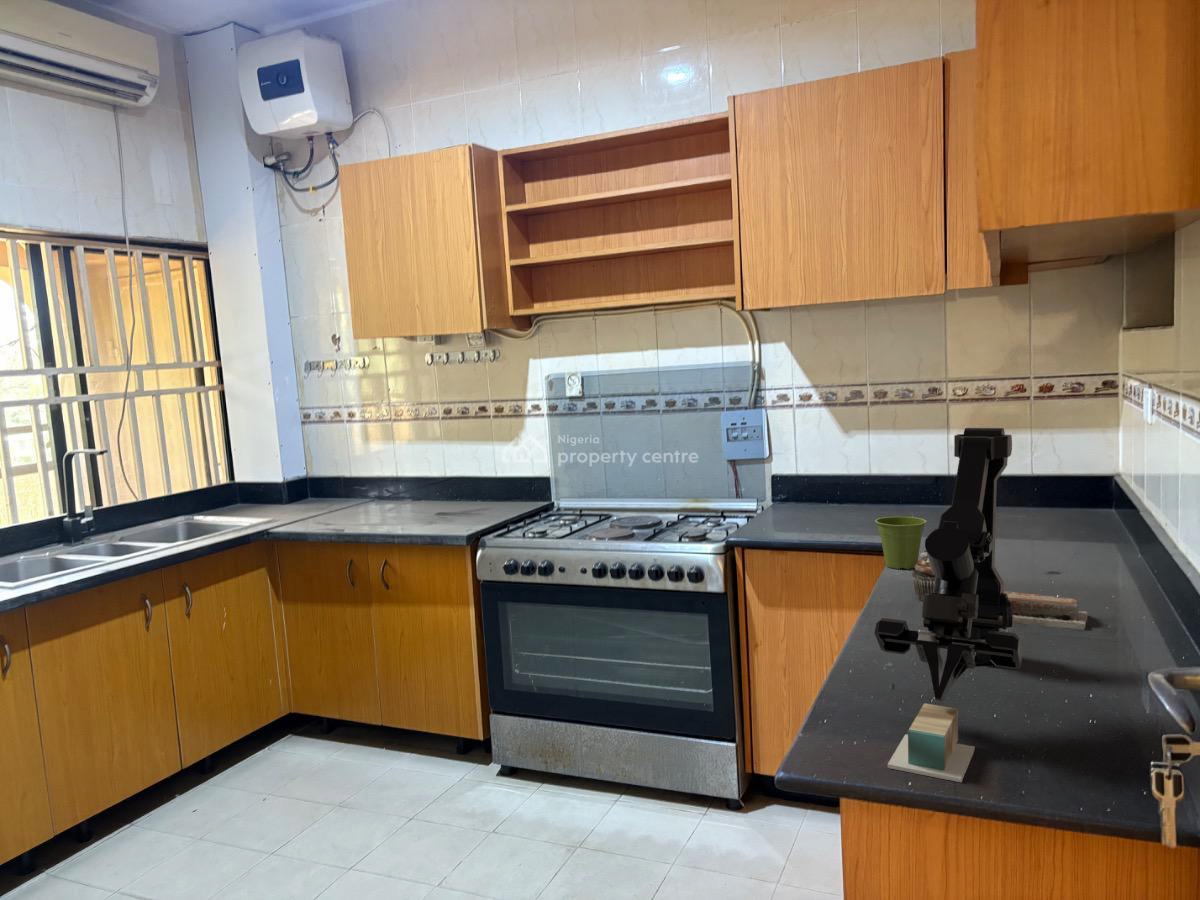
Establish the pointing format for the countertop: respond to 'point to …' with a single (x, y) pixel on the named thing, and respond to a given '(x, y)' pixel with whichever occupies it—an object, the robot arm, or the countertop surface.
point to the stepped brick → (1046, 611)
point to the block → (933, 736)
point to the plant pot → (901, 540)
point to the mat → (951, 772)
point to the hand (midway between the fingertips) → (938, 699)
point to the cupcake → (923, 577)
